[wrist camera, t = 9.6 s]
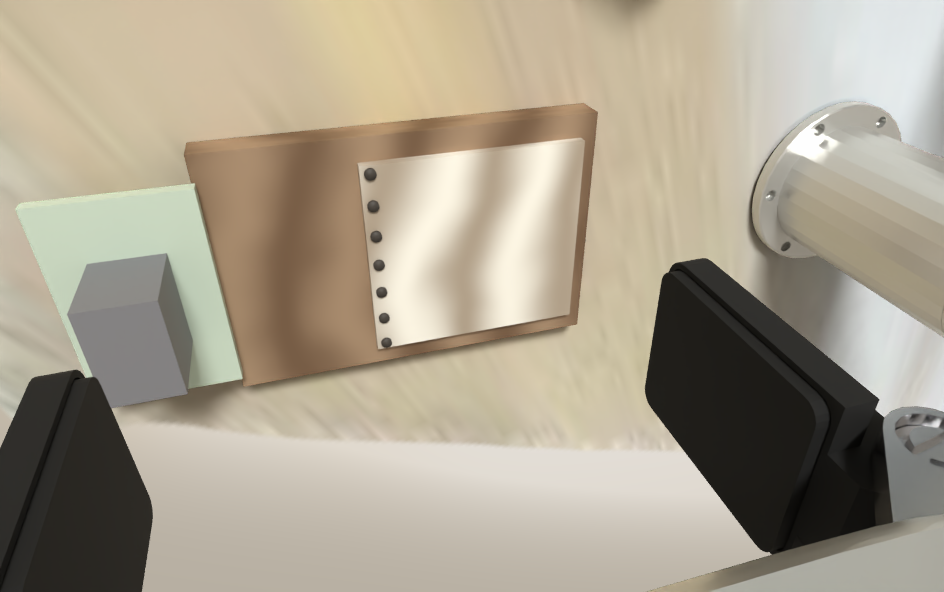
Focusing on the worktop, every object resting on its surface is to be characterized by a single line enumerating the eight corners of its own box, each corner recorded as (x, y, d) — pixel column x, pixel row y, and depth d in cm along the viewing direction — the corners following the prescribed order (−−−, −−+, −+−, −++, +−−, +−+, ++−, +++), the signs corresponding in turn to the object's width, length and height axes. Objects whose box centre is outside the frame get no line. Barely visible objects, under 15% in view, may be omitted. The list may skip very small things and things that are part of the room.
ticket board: (583, 103, 42) (603, 116, 40) (566, 310, 50) (581, 330, 48) (186, 142, 36) (182, 160, 34) (243, 368, 45) (243, 394, 42)
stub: (194, 183, 35) (188, 230, 30) (242, 371, 42) (243, 432, 37) (19, 203, 33) (-17, 256, 28) (100, 397, 40) (82, 465, 35)
